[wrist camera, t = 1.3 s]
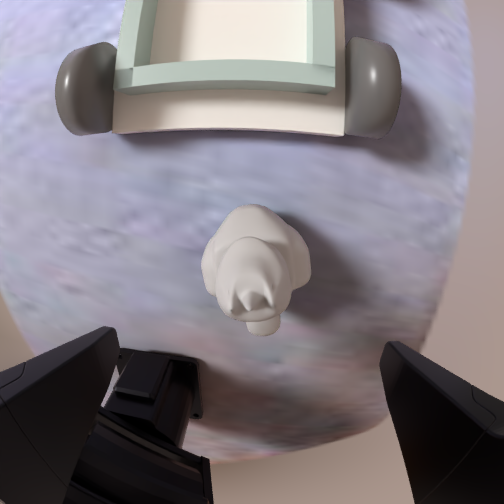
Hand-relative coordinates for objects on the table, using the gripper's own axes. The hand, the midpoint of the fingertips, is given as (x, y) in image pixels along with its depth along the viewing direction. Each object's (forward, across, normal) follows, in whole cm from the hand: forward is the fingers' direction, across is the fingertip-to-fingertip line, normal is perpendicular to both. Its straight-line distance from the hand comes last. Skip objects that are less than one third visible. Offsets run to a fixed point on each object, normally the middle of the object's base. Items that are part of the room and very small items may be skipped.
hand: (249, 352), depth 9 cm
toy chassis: (+9, +2, -15) cm, 18 cm away
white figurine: (+9, 0, 0) cm, 9 cm away
